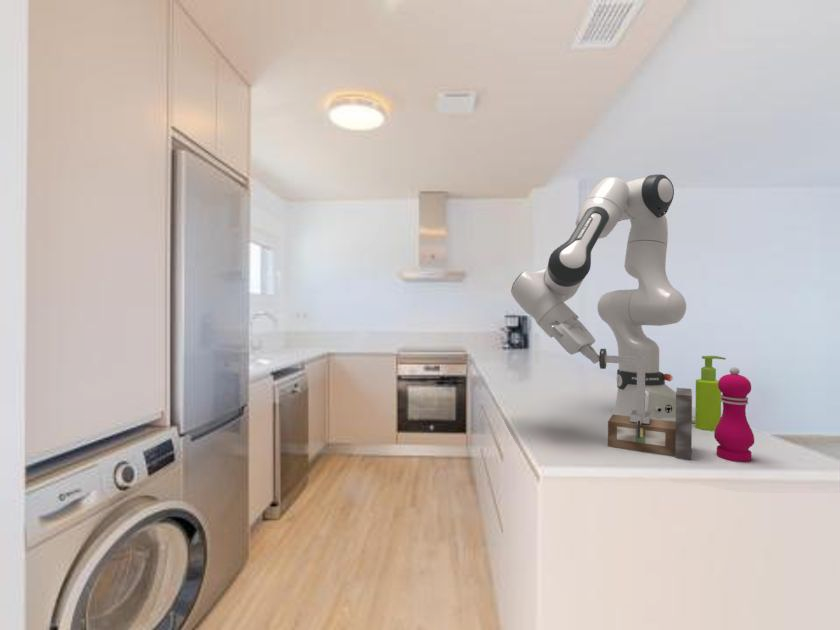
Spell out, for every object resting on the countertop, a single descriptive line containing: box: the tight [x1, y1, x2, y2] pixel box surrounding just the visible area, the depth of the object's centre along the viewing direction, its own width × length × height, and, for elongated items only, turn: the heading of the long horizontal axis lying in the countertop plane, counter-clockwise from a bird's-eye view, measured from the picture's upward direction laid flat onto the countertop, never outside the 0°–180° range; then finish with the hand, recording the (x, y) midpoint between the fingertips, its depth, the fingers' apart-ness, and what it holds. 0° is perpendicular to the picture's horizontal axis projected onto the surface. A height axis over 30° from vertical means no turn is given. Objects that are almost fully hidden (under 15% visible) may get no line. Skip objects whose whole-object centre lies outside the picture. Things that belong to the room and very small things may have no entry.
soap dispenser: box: [694, 355, 727, 432], centre depth 121 cm, size 6×7×20 cm
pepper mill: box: [714, 366, 755, 463], centre depth 97 cm, size 7×7×20 cm
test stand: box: [607, 387, 693, 461], centre depth 103 cm, size 17×10×14 cm, turn 59°
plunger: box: [598, 348, 651, 438], centre depth 105 cm, size 11×8×20 cm
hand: (598, 361), depth 109 cm, fingers closed, pressing on plunger
